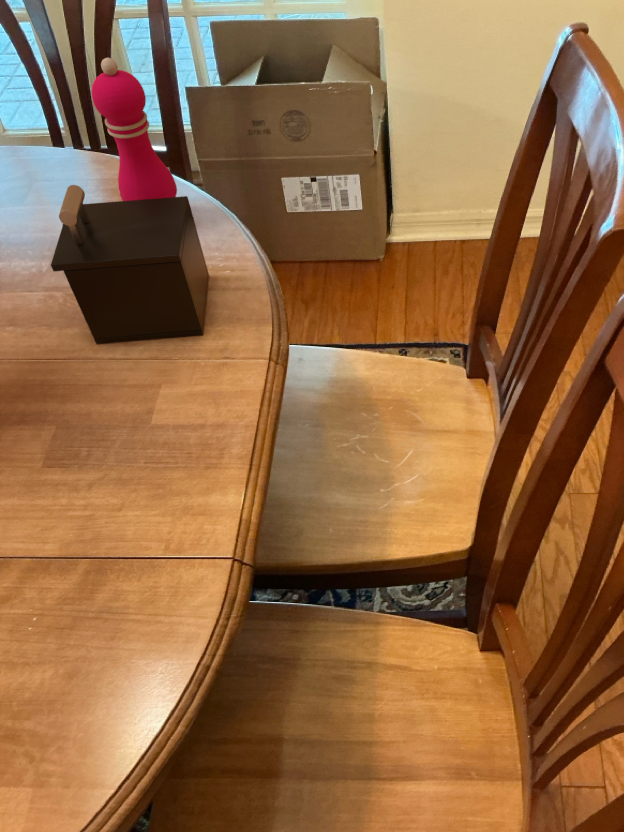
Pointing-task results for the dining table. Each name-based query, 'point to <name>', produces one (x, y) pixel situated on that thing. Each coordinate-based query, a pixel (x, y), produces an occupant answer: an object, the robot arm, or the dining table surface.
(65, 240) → the bin lid
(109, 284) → the waste bin
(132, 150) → the pepper mill
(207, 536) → the dining table surface
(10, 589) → the dining table surface
